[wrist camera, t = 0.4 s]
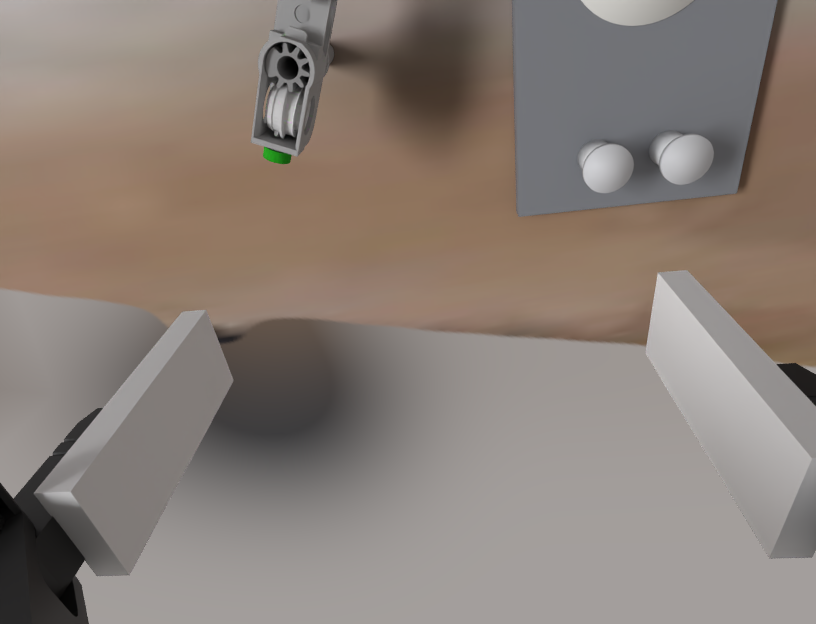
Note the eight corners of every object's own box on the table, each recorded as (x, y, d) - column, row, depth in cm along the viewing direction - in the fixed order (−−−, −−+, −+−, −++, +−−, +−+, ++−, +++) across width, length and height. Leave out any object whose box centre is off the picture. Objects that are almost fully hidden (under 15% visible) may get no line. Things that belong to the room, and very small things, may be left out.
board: (508, -154, 29) (520, -180, 25) (808, -210, 27) (874, -248, 23) (516, 211, 40) (525, 234, 36) (728, 188, 38) (762, 209, 34)
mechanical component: (360, -25, 32) (334, -36, 24) (328, 133, 37) (297, 171, 29) (315, -41, 32) (272, -57, 23) (289, 121, 37) (246, 155, 29)
